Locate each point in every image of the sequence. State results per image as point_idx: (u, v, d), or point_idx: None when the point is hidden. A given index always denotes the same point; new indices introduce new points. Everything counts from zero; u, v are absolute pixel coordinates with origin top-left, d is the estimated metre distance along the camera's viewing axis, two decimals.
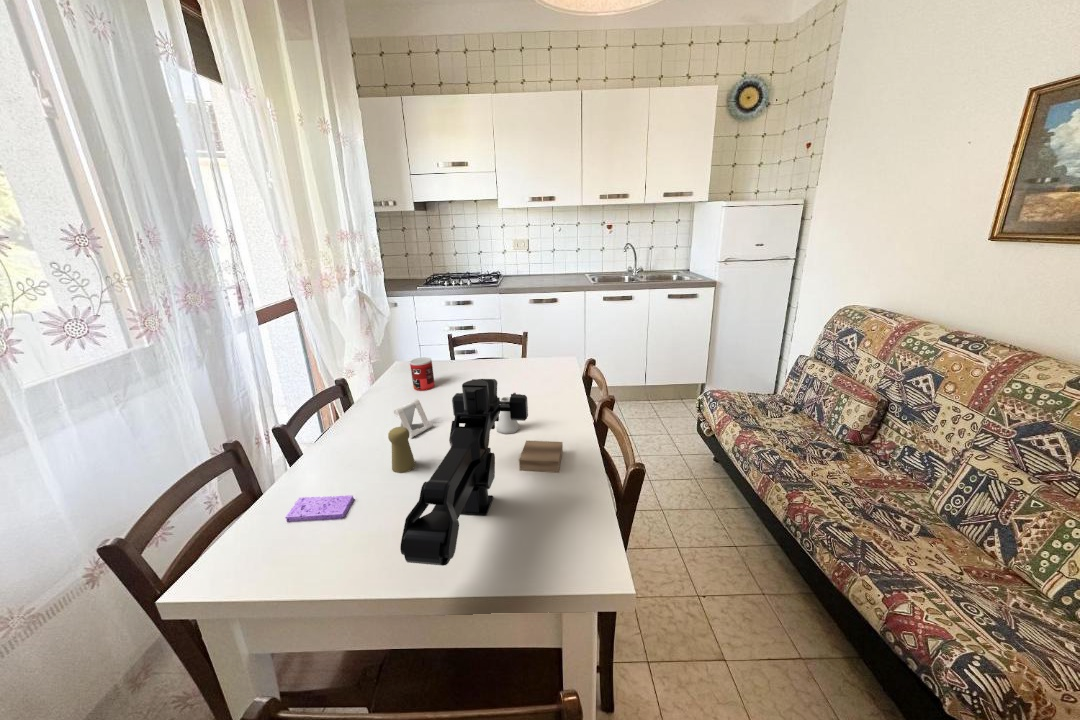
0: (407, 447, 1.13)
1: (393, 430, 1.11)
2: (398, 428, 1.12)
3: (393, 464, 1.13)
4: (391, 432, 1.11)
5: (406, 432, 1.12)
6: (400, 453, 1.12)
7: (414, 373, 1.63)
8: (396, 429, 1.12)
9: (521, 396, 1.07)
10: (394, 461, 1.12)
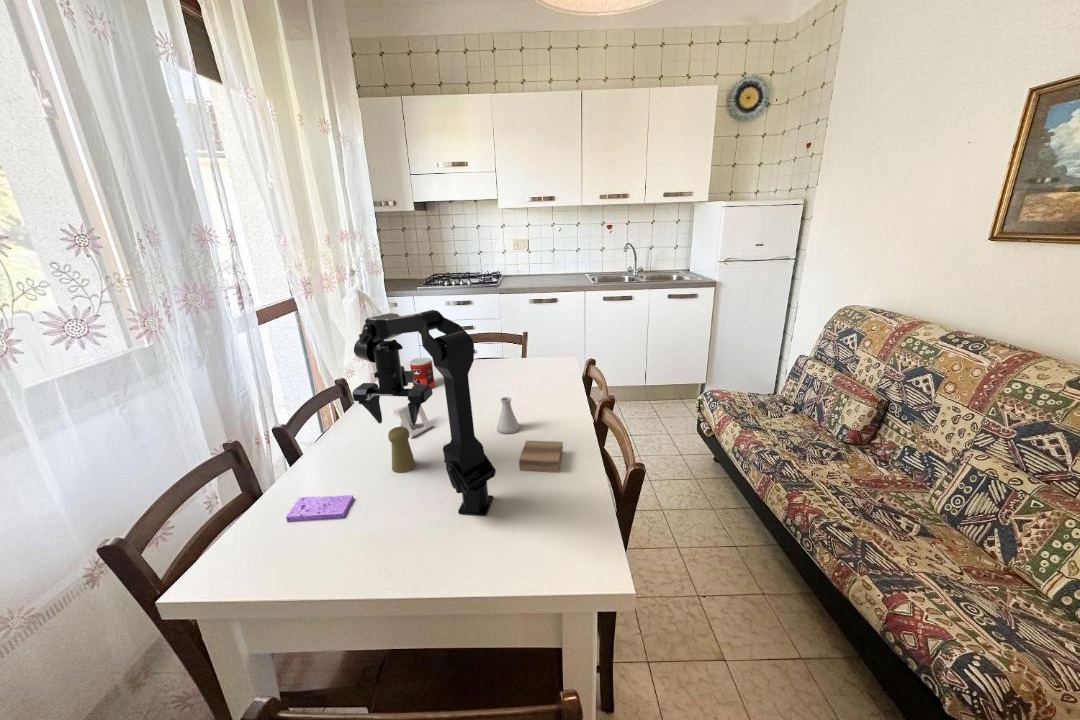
0: (407, 447, 1.13)
1: (393, 430, 1.11)
2: (398, 428, 1.12)
3: (393, 464, 1.13)
4: (391, 432, 1.11)
5: (406, 432, 1.12)
6: (400, 453, 1.12)
7: (414, 373, 1.63)
8: (396, 429, 1.12)
9: None
10: (394, 461, 1.12)
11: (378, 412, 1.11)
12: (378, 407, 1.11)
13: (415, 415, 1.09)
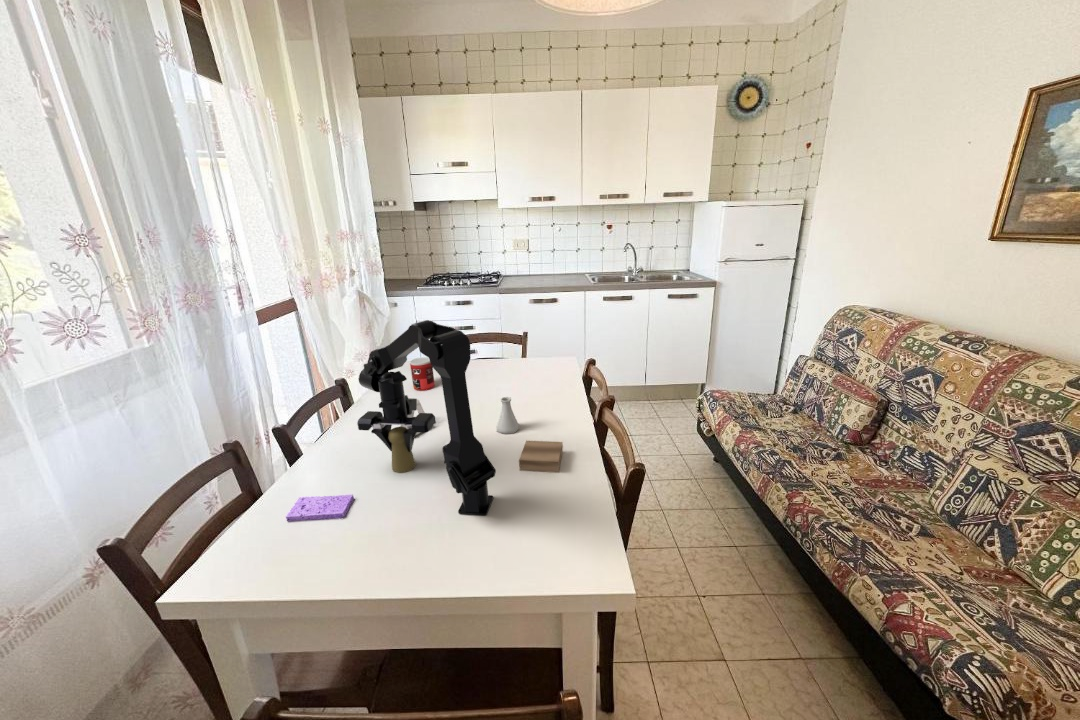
0: None
1: (393, 430, 1.11)
2: (398, 428, 1.12)
3: (393, 464, 1.13)
4: (391, 432, 1.11)
5: None
6: (400, 452, 1.12)
7: (414, 373, 1.63)
8: (396, 429, 1.12)
9: None
10: (394, 461, 1.12)
11: None
12: None
13: (410, 442, 1.11)
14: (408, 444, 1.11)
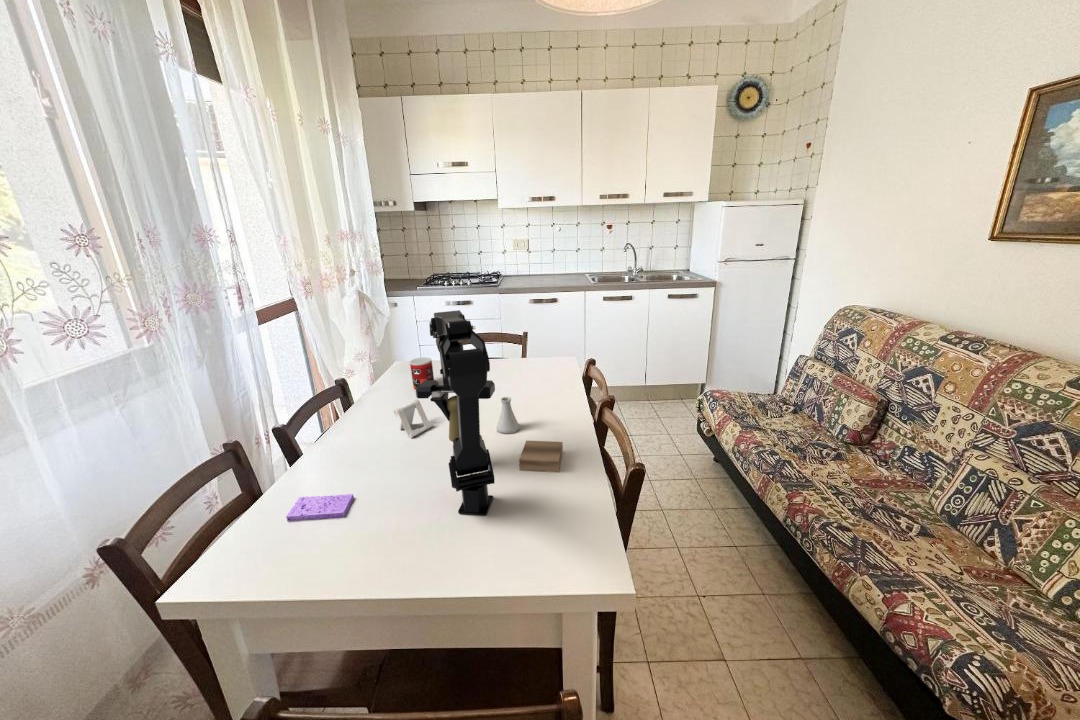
0: None
1: (452, 398, 1.09)
2: (456, 396, 1.10)
3: (451, 433, 1.10)
4: (450, 400, 1.08)
5: None
6: None
7: (414, 373, 1.63)
8: (455, 397, 1.09)
9: None
10: (452, 430, 1.10)
11: None
12: None
13: None
14: None
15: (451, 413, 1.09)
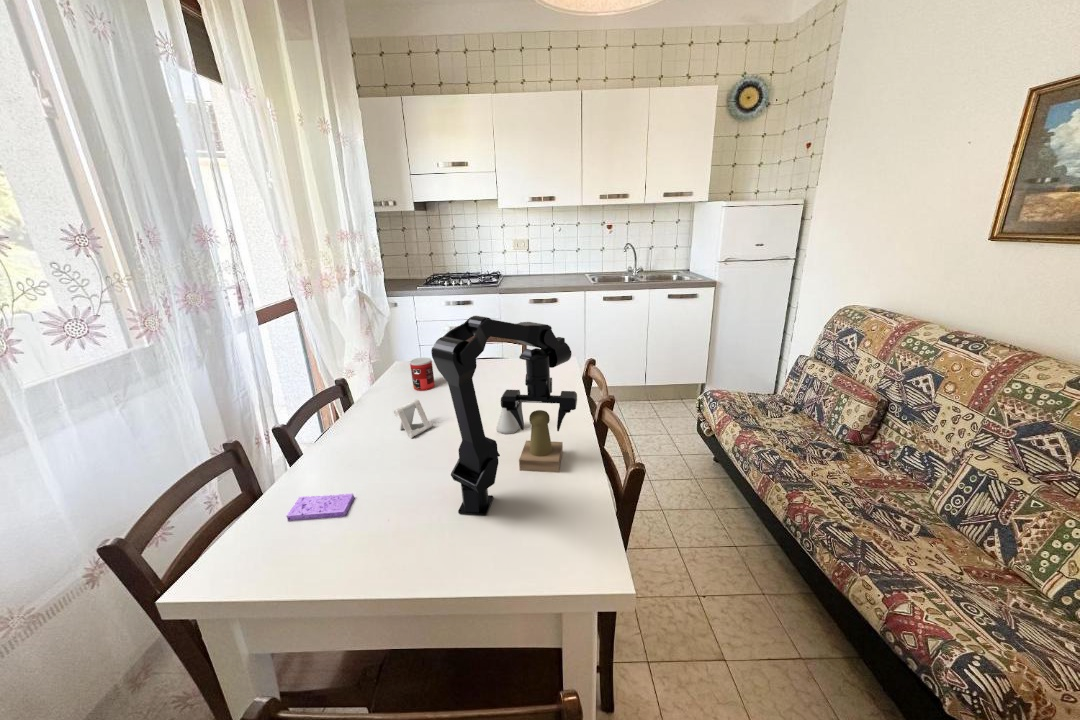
0: (548, 430, 1.12)
1: (535, 413, 1.11)
2: (539, 411, 1.11)
3: (533, 448, 1.12)
4: (534, 415, 1.10)
5: (548, 415, 1.11)
6: (542, 436, 1.11)
7: (414, 373, 1.63)
8: (538, 412, 1.11)
9: None
10: (534, 444, 1.12)
11: (522, 418, 1.12)
12: (521, 413, 1.12)
13: (561, 421, 1.10)
14: (560, 423, 1.09)
15: (534, 428, 1.11)
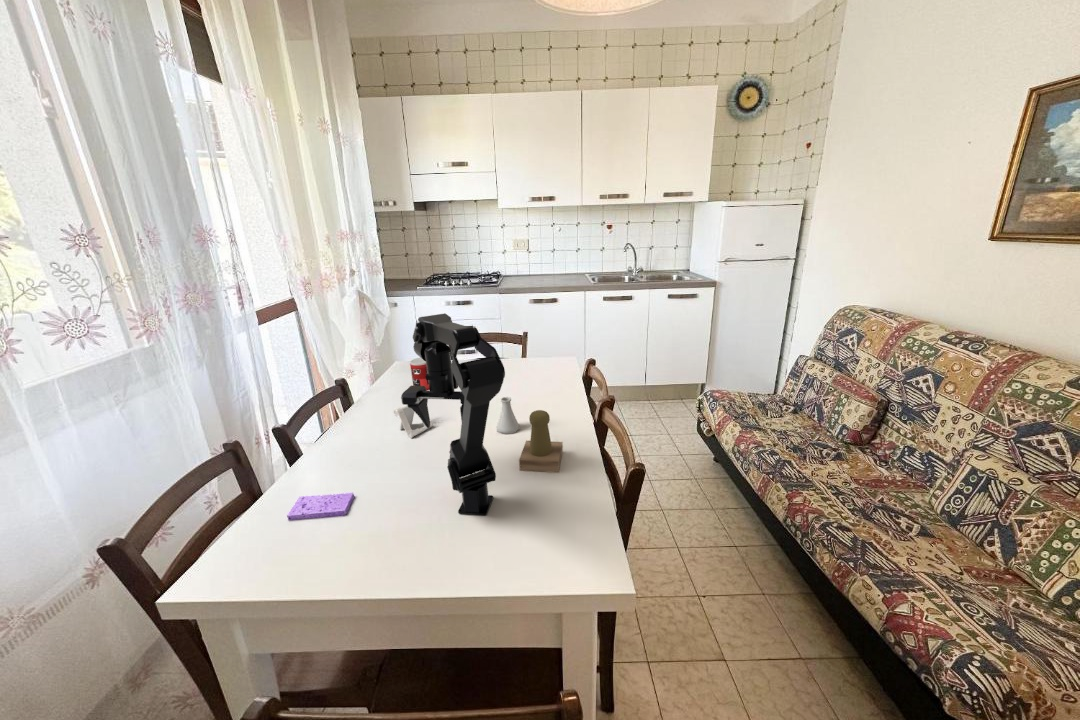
0: (548, 430, 1.12)
1: (535, 413, 1.11)
2: (539, 411, 1.11)
3: (533, 448, 1.12)
4: (534, 415, 1.10)
5: (548, 415, 1.11)
6: (542, 436, 1.11)
7: (414, 373, 1.63)
8: (538, 412, 1.11)
9: None
10: (534, 444, 1.12)
11: (427, 415, 1.07)
12: (426, 410, 1.07)
13: None
14: None
15: (534, 428, 1.11)
